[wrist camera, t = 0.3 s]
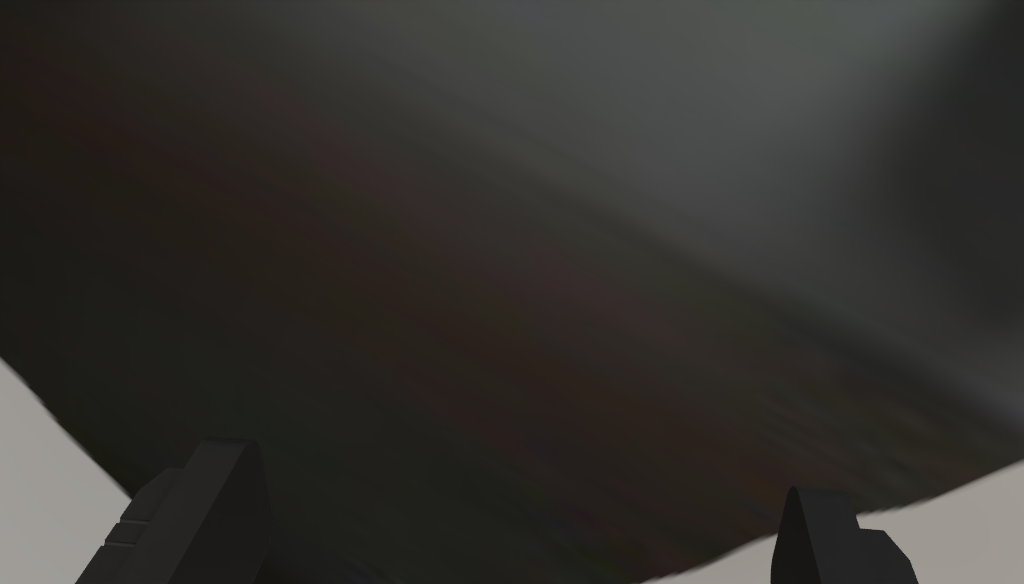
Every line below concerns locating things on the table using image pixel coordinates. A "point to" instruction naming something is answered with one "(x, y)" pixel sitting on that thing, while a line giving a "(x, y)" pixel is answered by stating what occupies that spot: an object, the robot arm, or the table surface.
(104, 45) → the table surface
